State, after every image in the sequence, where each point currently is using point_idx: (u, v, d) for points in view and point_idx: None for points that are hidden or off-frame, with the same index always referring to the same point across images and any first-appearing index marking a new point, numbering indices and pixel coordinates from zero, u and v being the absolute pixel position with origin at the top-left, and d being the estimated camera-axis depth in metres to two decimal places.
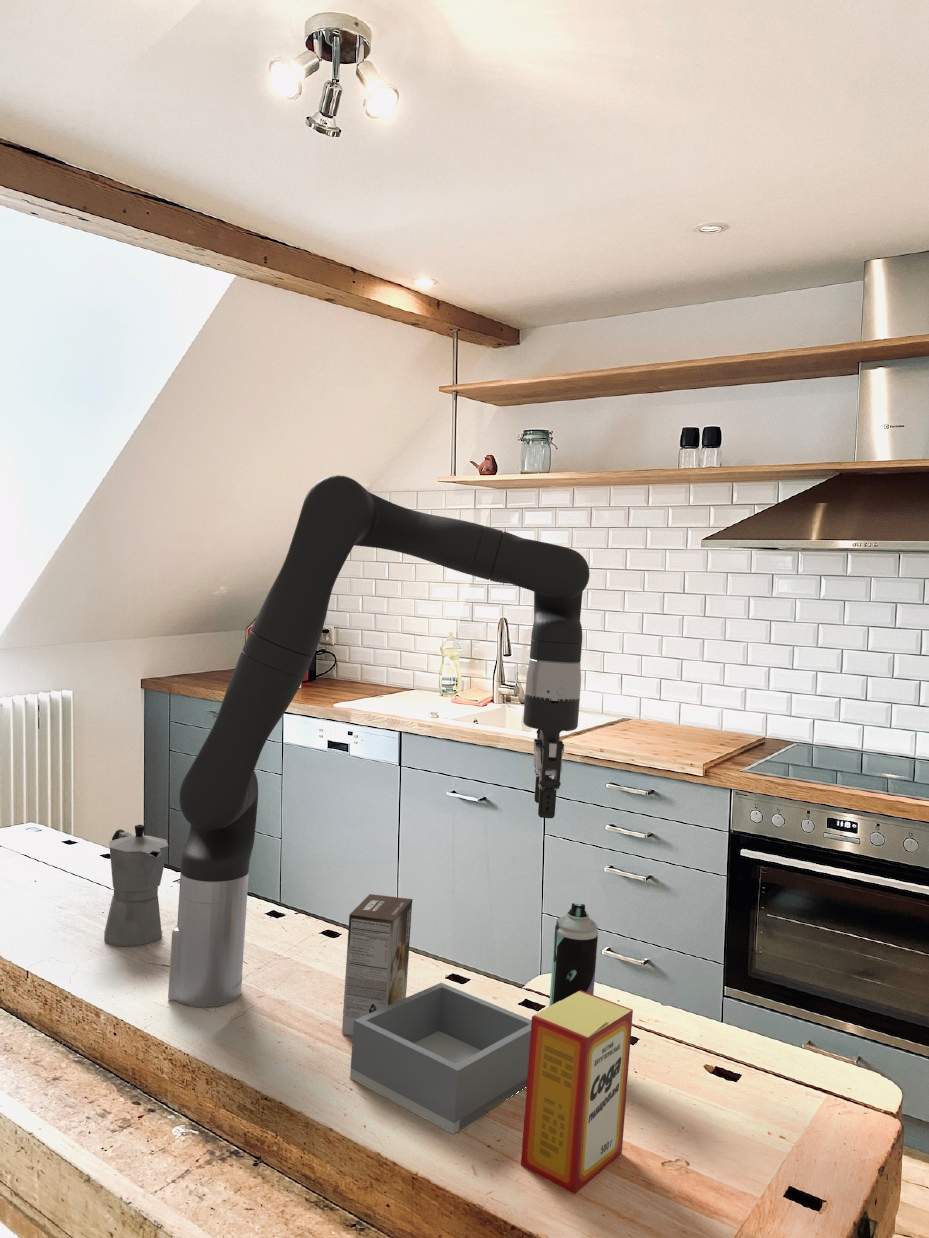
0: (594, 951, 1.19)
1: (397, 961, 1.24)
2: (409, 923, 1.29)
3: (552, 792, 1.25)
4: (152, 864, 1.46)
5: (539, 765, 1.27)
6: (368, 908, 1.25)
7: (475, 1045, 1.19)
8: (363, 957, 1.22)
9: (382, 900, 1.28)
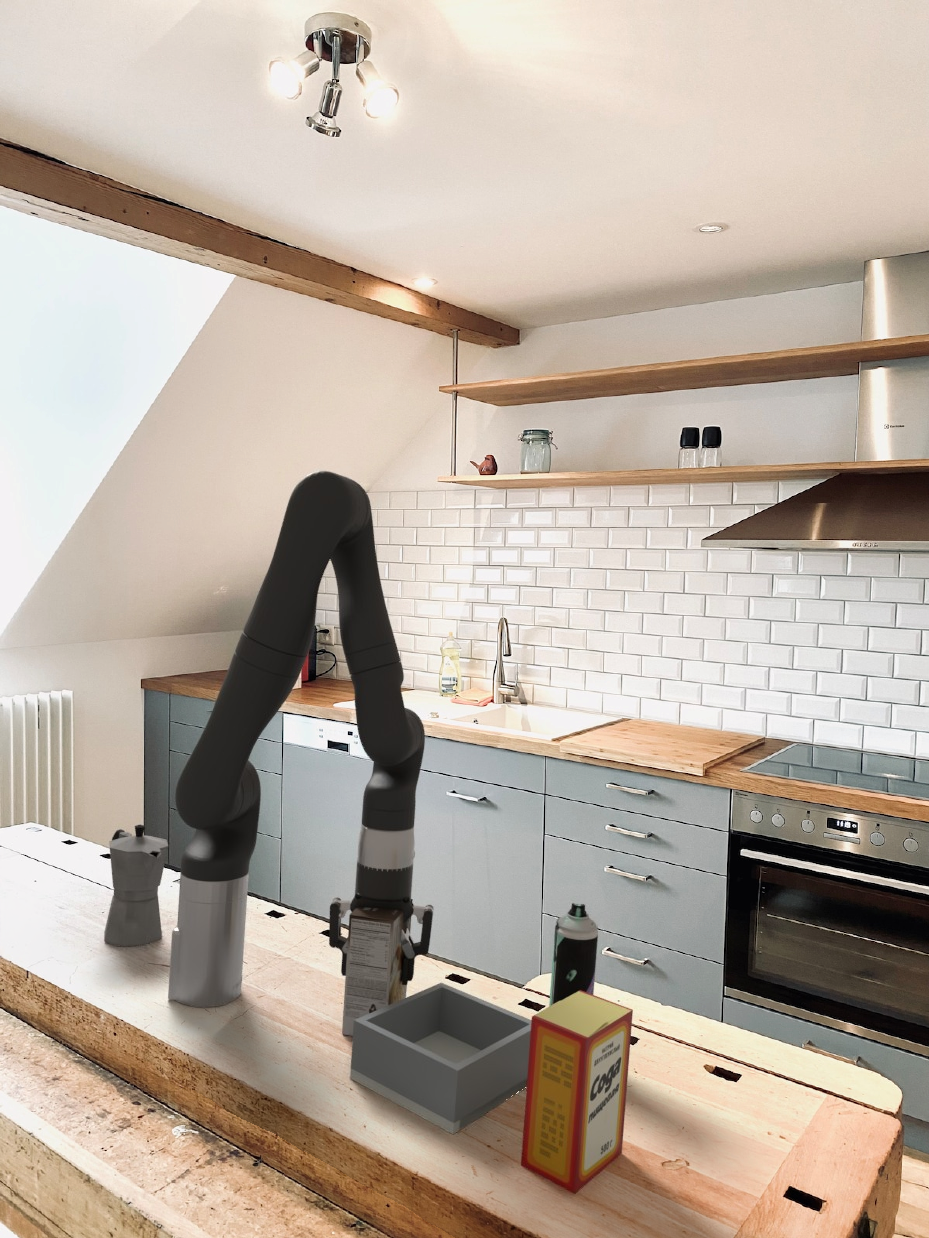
0: (594, 951, 1.19)
1: (397, 961, 1.24)
2: (409, 923, 1.29)
3: None
4: (152, 864, 1.46)
5: (405, 935, 1.25)
6: (368, 908, 1.25)
7: (475, 1045, 1.19)
8: (363, 957, 1.22)
9: None
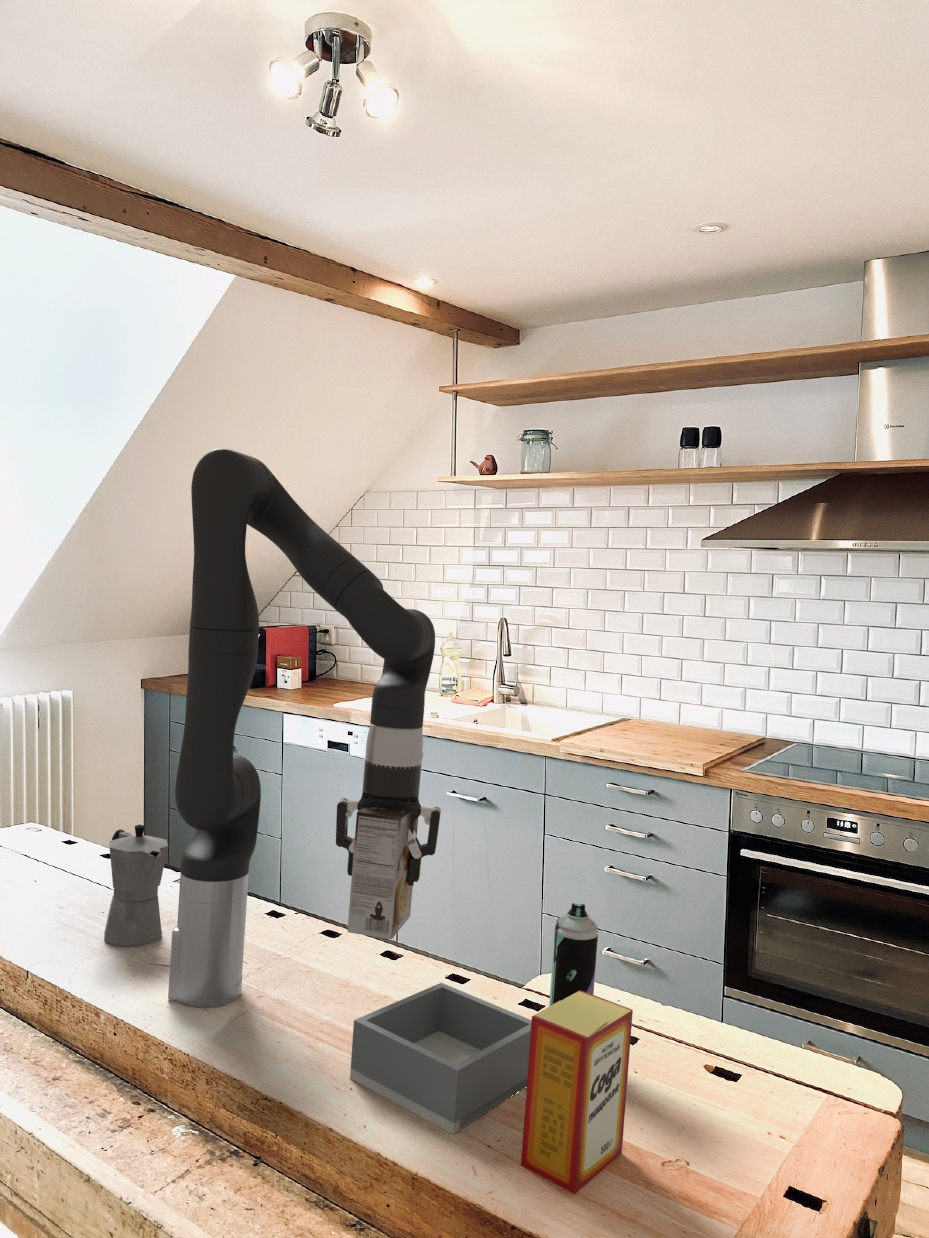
0: (594, 951, 1.19)
1: (404, 860, 1.23)
2: (416, 826, 1.29)
3: None
4: (152, 864, 1.46)
5: (412, 835, 1.24)
6: (376, 808, 1.24)
7: (475, 1045, 1.19)
8: (370, 854, 1.22)
9: None
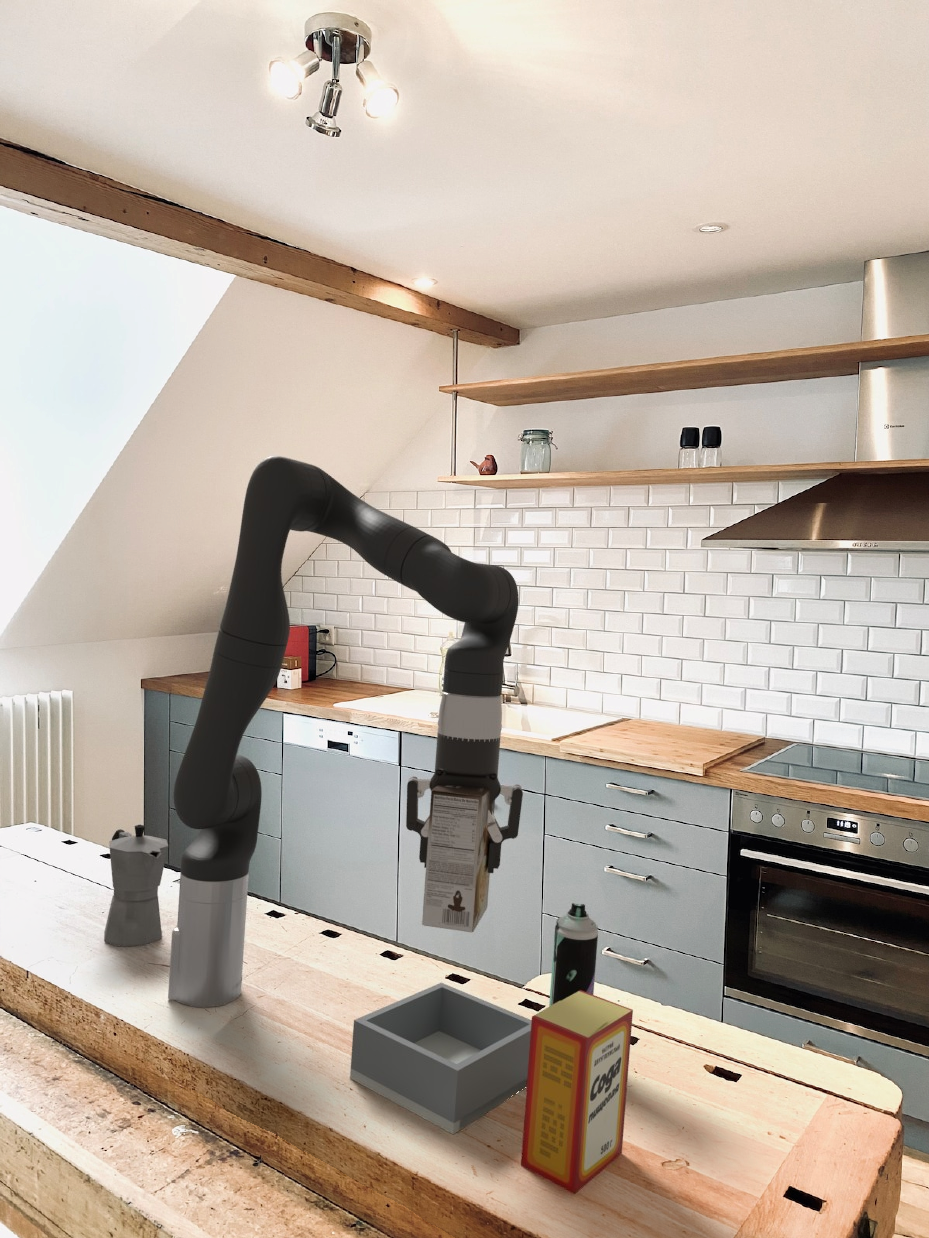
0: (594, 951, 1.19)
1: (484, 844, 1.10)
2: (493, 807, 1.15)
3: None
4: (152, 864, 1.46)
5: (492, 816, 1.11)
6: (451, 786, 1.11)
7: (475, 1045, 1.19)
8: (446, 837, 1.08)
9: None
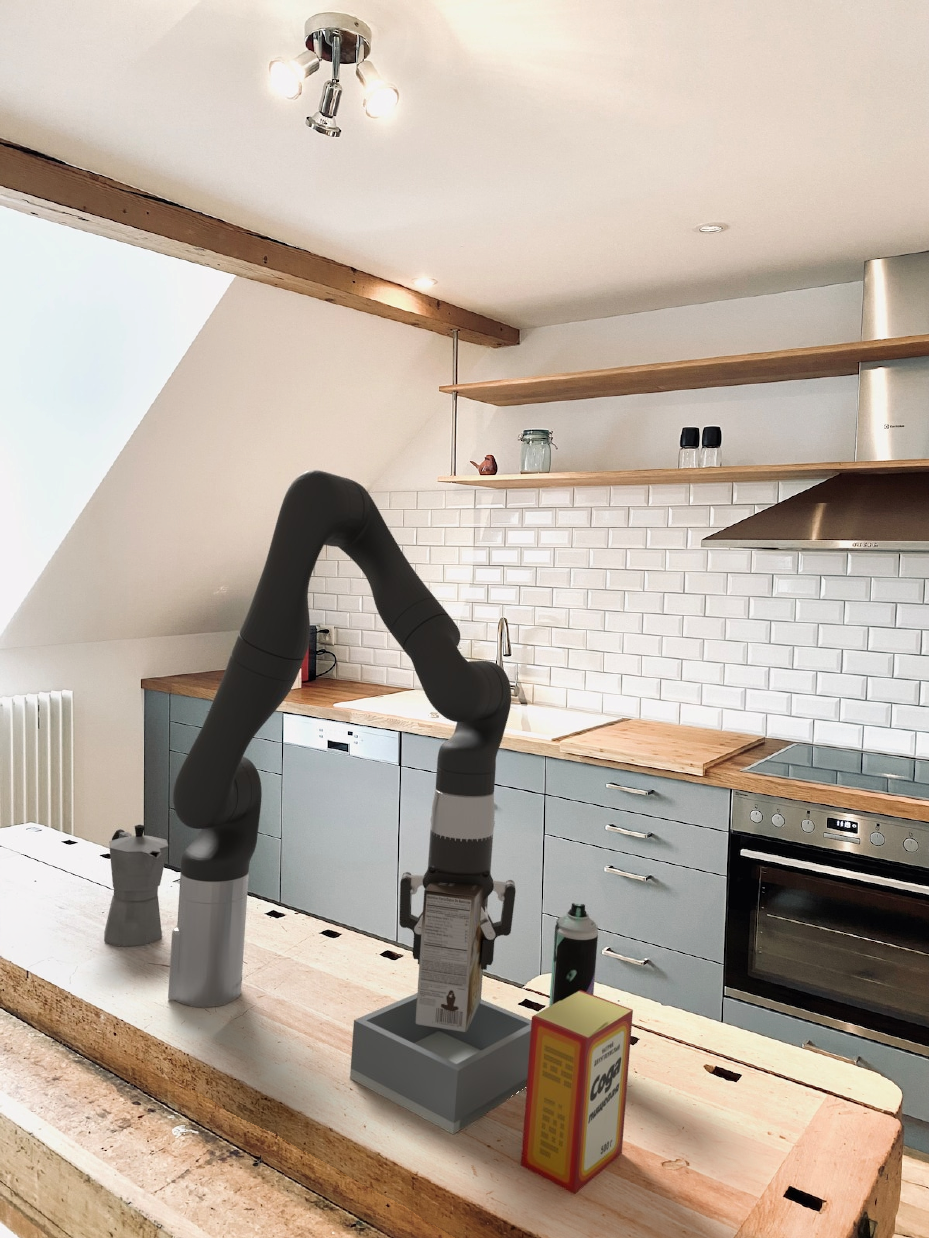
0: (594, 951, 1.19)
1: (477, 942, 1.10)
2: (486, 901, 1.16)
3: None
4: (152, 864, 1.46)
5: (485, 914, 1.12)
6: (444, 884, 1.11)
7: (475, 1045, 1.19)
8: (440, 937, 1.09)
9: None
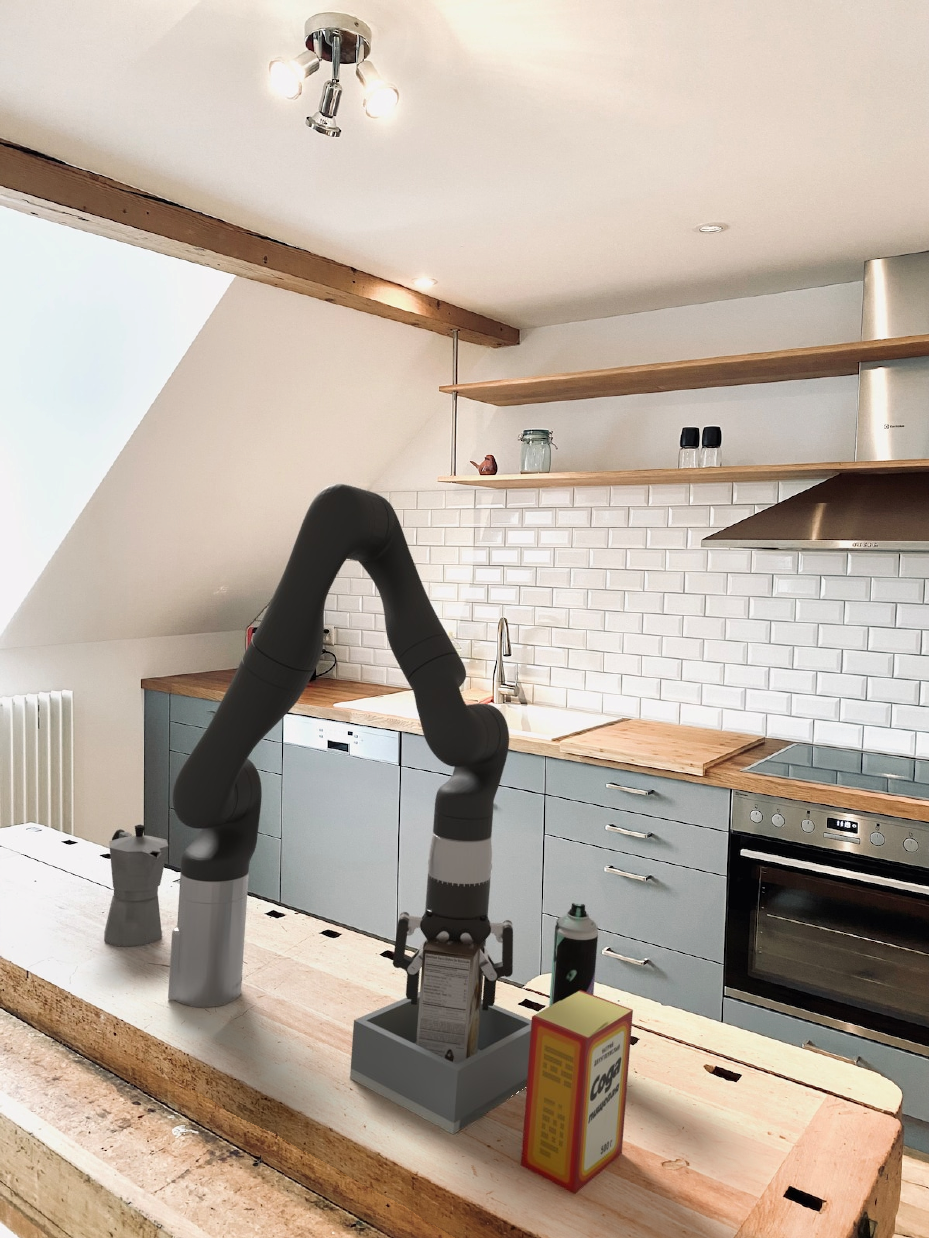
0: (594, 951, 1.19)
1: (475, 1000, 1.11)
2: None
3: None
4: (152, 864, 1.46)
5: (484, 955, 1.12)
6: None
7: None
8: (438, 996, 1.09)
9: None
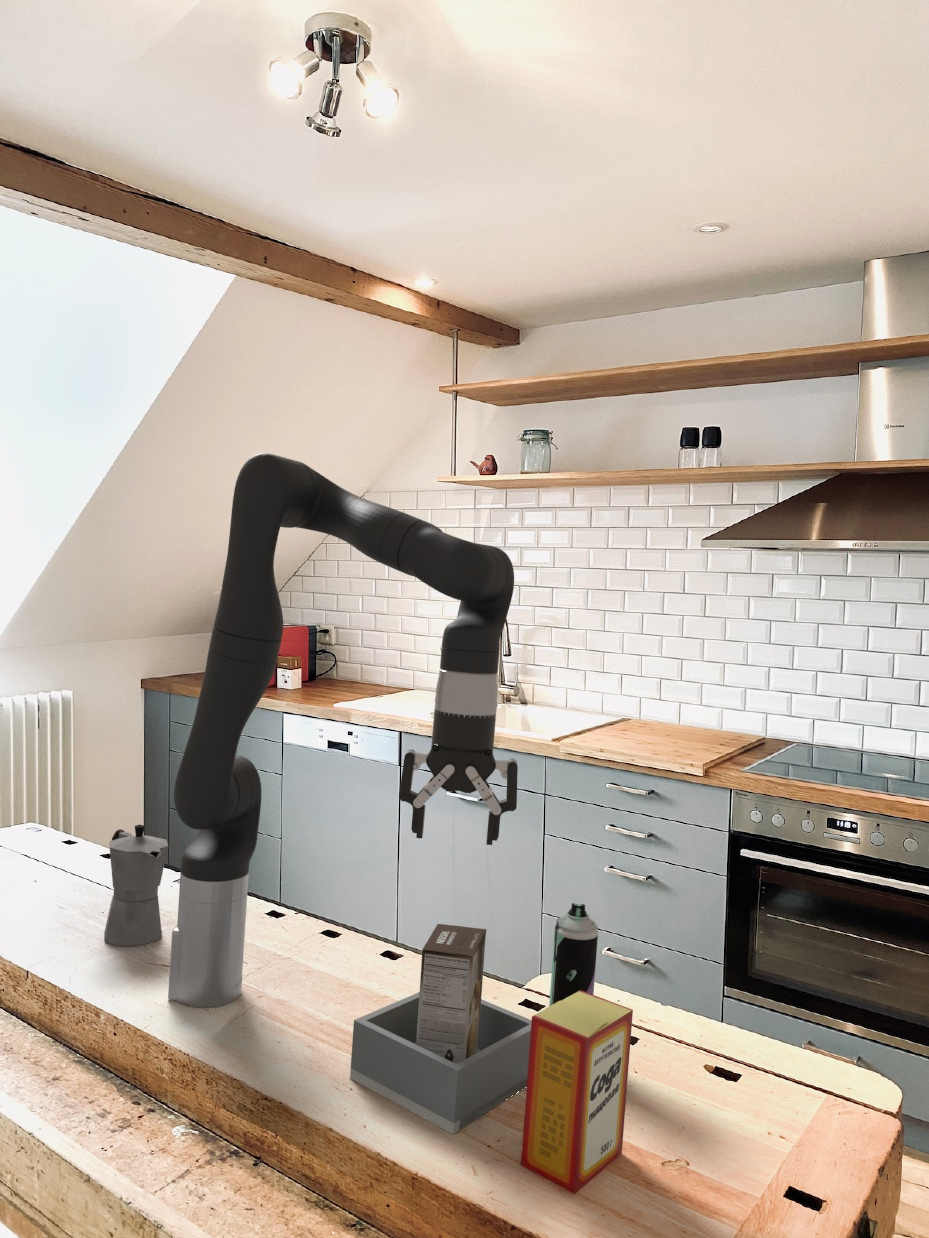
0: (594, 951, 1.19)
1: (475, 1000, 1.11)
2: (483, 956, 1.16)
3: None
4: (152, 864, 1.46)
5: (489, 790, 1.13)
6: (442, 942, 1.11)
7: None
8: (438, 996, 1.09)
9: (454, 931, 1.15)
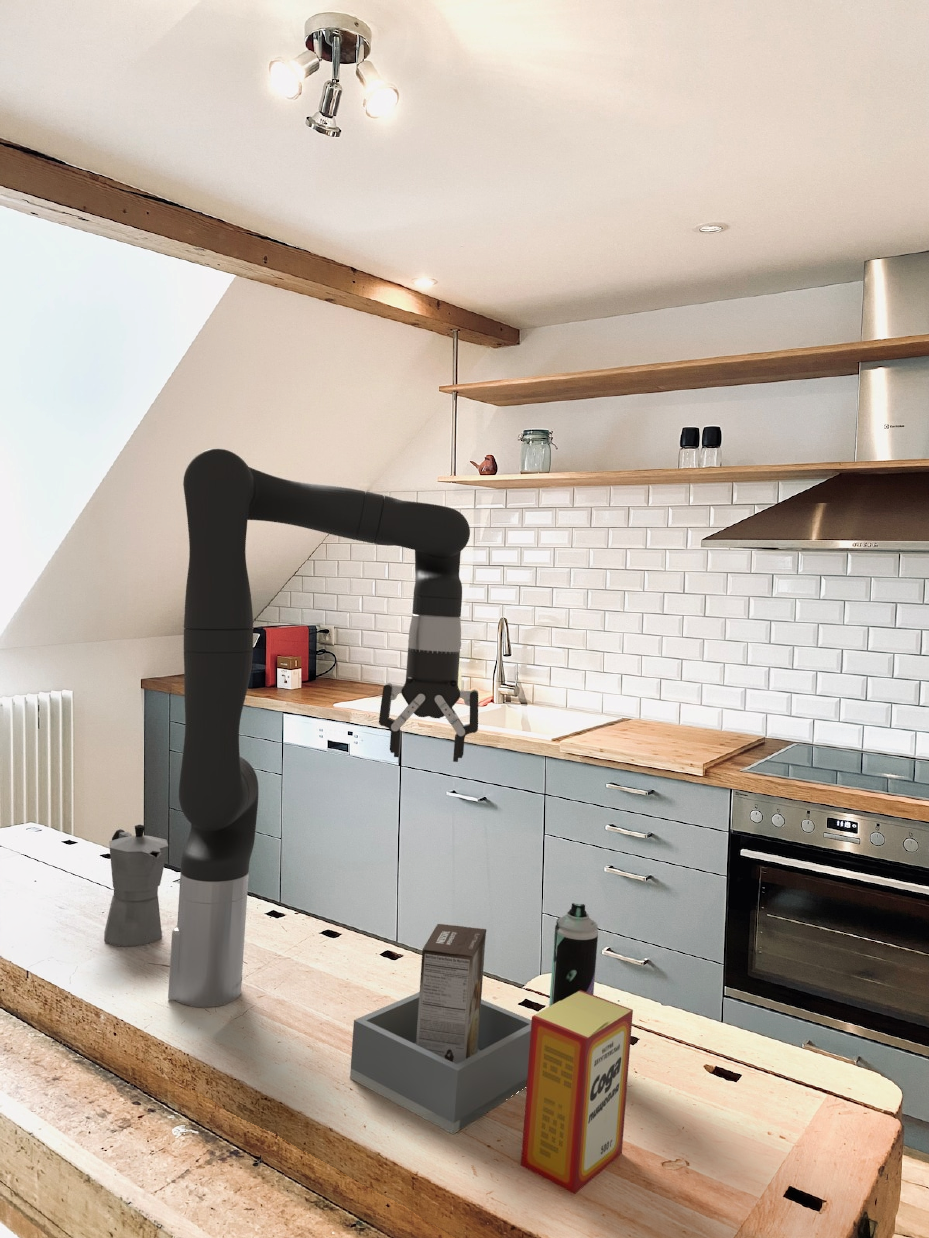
0: (594, 951, 1.19)
1: (475, 1000, 1.11)
2: (483, 956, 1.16)
3: None
4: (152, 864, 1.46)
5: (454, 715, 1.35)
6: (442, 942, 1.11)
7: None
8: (438, 996, 1.09)
9: (454, 931, 1.15)
